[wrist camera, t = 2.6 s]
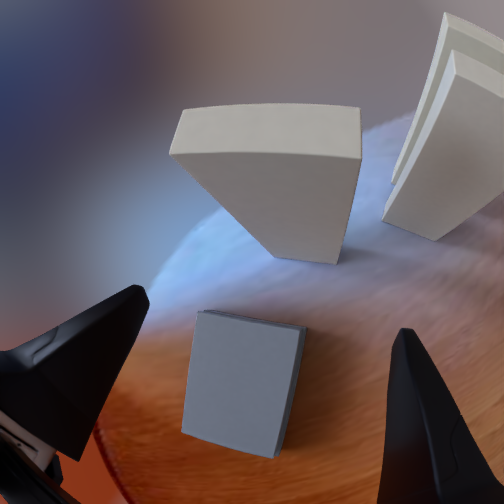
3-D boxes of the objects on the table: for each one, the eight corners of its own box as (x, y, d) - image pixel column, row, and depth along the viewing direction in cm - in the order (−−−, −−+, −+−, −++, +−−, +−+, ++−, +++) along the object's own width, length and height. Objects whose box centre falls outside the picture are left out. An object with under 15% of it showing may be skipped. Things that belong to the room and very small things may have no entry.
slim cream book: (336, 264, 21) (362, 159, 6) (273, 257, 22) (167, 154, 7) (338, 244, 21) (360, 106, 6) (276, 237, 23) (183, 109, 7)
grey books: (281, 450, 19) (275, 464, 16) (193, 426, 21) (179, 436, 19) (307, 326, 21) (305, 329, 18) (209, 309, 23) (196, 309, 20)
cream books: (435, 241, 19) (562, 140, 4) (381, 220, 21) (455, 73, 5) (444, 188, 20) (534, 60, 4) (394, 168, 21) (444, 11, 6)
